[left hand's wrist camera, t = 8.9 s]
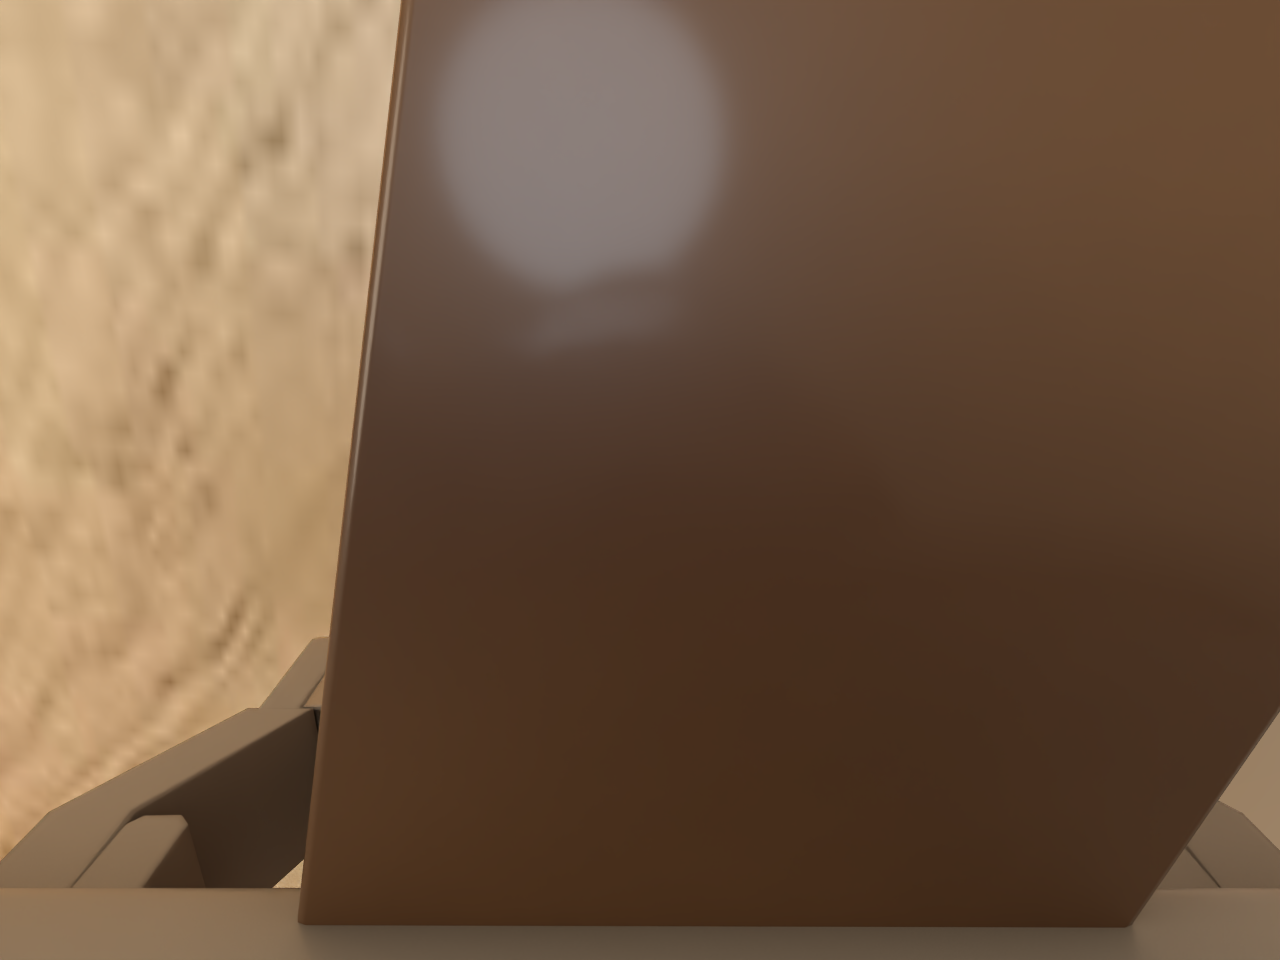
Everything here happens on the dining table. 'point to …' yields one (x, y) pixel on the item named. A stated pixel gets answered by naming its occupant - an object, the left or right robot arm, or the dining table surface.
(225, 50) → the dining table surface
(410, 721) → the bar
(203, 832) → the left robot arm
